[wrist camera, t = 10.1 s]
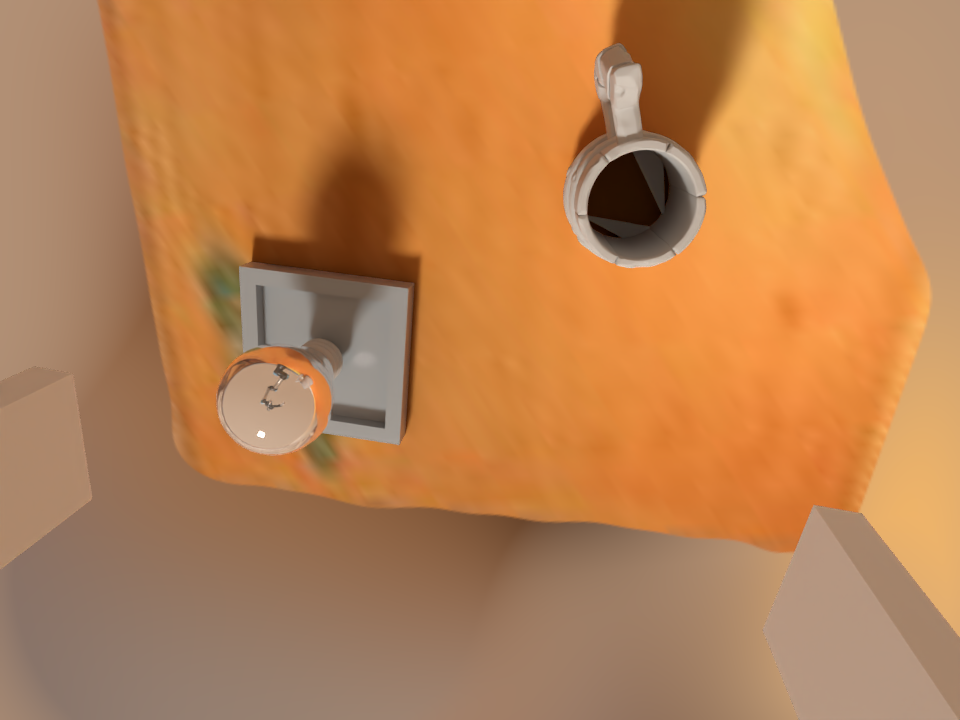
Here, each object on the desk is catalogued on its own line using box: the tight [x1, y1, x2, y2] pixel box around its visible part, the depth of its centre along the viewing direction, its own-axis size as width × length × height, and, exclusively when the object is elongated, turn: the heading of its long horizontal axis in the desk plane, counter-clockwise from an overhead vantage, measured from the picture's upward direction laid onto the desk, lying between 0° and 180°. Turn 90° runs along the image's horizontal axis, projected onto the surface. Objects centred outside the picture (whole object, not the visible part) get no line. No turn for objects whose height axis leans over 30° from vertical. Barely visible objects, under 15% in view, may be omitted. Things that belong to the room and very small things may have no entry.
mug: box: [563, 43, 707, 268], centre depth 32 cm, size 8×12×12 cm, turn 14°
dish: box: [239, 262, 414, 445], centre depth 44 cm, size 12×12×2 cm
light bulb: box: [216, 338, 343, 455], centre depth 38 cm, size 7×7×12 cm
